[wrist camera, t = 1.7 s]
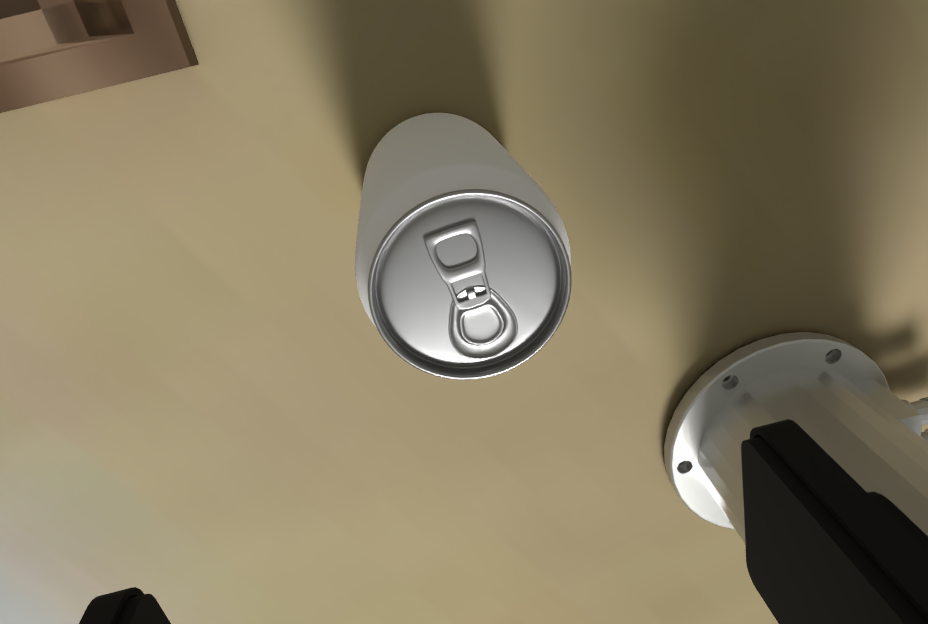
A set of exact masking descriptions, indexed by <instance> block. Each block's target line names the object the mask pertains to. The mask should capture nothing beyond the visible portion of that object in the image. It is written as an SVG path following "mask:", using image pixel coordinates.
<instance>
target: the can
mask: <svg viewBox="0 0 928 624" xmlns="http://www.w3.org/2000/svg"><path fill="white" fill-rule="evenodd" d="M570 265H571V255H570V245H569V240H568V236H567V232H566V229H565V226H564V224H563V222H562V219H561V217H560V215H559V213H558V211H557V210H556V208H555V206H554V205H553V203H552V202H551V200H550V199H549V198H548V196H547V195H546V194H545V193H544V191H543V190H542V189H541V188H540V187H539V186H538V184H537V183H536V182H535V181H534V180H533V179H532V178H531V177H530V175H529V174H528V173H527V172H526V171H525V170H524V169H523V168H522V167H521V166H520V164H519V163H518V162H517V161H516V160H515V159H514V158H513V157H512V156H511V155H510V154H509V153H508V152H507V150H506V149H505V148H504V147H503V146H502V145H501V144H500V143H499V142H498V141H497V140H496V139H495V138H494V137H493V136H492V135H491V134H490V133H489V132H488V131H486V130H485V129H484V128H483V127H481V126H480V125H478V124H477V123H475V122H473V121H471V120H469V119H467V118H464V117H462V116H458V115H454V114H449V113H428V114H422V115H418V116H415V117H412V118H410V119H407V120H405V121H403V122H402V123H400V124H398V125H397V126H395V127H394V128H393V129H391V130H390V131H389V132H388V133H387V134H386V135H385V136H384V137H383V138H382V139H381V140H380V142H379V143H378V144H377V146H376V147H375V149H374V151H373V153H372V155H371V157H370V159H369V161H368V164H367V167H366V171H365V176H364V182H363V189H362V197H361V205H360V213H359V221H358V231H357V240H356V251H355V275H356V282H357V287H358V292H359V295H360V299H361V302H362V304H363V306H364V309H365V311H366V313H367V315H368V316H369V318H370V320H371V321H372V323H373V324H374V325H375V327H376V328H377V329H378V331H379V333H380V335H381V336H382V338H383V339H384V341H385V342H386V343H387V345H388V346H389V347H390V348H391V349H392V350H393V351H394V352H395V353H396V354H397V355H398V356H399V357H400V358H402V359H403V360H404V361H406V362H407V363H409V364H410V365H412V366H414V367H415V368H417V369H419V370H421V371H424V372H426V373H429V374H432V375H435V376H439V377H443V378H448V379H458V380H471V379H481V378H486V377H491V376H495V375H498V374H501V373H504V372H506V371H509V370H511V369H513V368H515V367H517V366H519V365H520V364H522V363H524V362H525V361H527V360H528V359H530V358H531V357H532V356H534V355H535V354H536V353H537V352H538V351H539V350H540V349H541V348H543V346H544V345H545V344H546V343H547V342H548V341H549V340H550V338H551V337H552V336H553V334H554V333H555V332H556V330H557V328H558V327H559V325H560V323H561V321H562V319H563V317H564V315H565V312H566V309H567V306H568V303H569V299H570V293H571V267H570Z"/></svg>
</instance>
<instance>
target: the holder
mask: <svg viewBox="0 0 928 624" xmlns="http://www.w3.org/2000/svg"><path fill="white" fill-rule="evenodd" d="M194 65H198V61H197V58H196V56H195V53H194V50H193V48H192V45H191V42H190V40H189V37H188V34H187V32H186V29H185V26H184V24H183V21H182V18H181V16H180V13H179V10H178V8H177V5H176V2H175V0H0V113H2V112H6V111H10V110H14V109H18V108H23V107H27V106H31V105H35V104H39V103H43V102H47V101H51V100H55V99H59V98H64V97H68V96H72V95H76V94H80V93H84V92H88V91H92V90H96V89H100V88H104V87H109V86H113V85H117V84H121V83H125V82H129V81H133V80H137V79H141V78H145V77H150V76H154V75H158V74H162V73H166V72H170V71H174V70H178V69H182V68H186V67H190V66H194Z"/></svg>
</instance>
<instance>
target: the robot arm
mask: <svg viewBox="0 0 928 624" xmlns="http://www.w3.org/2000/svg"><path fill="white" fill-rule="evenodd" d="M924 424H928V397H925V398H922V399H920V400H919V401H915V402H911V403H909V402H908V401H906V400H902V399H899V398H898V397H897V396H895V395H894V394H892V393H891V392H890V389H889V386H888V383H887V380H886V378H885V376H884V374H883V373H882V371H881V370H880V368H879V367H878V366H877V364H876V363H875V362H874V361H873V360H872V359H870V358H869V357H868V356H867V355H866V354H864V353H863V352H862V351H860V350H859V349H857V348H856V347H854V346H852V345H851V344H849V343H848V342H846V341H844V340H842V339H839V338H836V337H833V336H830V335H827V334H820V333H811V332H797V333H785V334H780V335H776V336H772V337H768V338H764V339H760V340H758V341H756V342H753V343H751V344H749V345H746V346H744V347H741V348H739V349H737V350H736V351H734V352H733V353H731V354H729V355H728V356H726V357H724V358H723V359H721V360H720V361H718V362H717V363H716V364H715V365H713V366H712V367H711V368H710V369H709V370H707V371H706V372H705V373H704V374H703V375H701V376H700V378H699V379H698V380H697V381H696V382H695V383H694V384H693V386H692V387H691V388H690V389H689V390H688V391H687V392H686V394H685V395H684V397H683V398H682V400H681V402H680V403H679V405H678V406H677V408H676V410H675V411H674V414H673V416H672V419H671V421H670V424H669V426H668V429H667V434H666V439H665V445H664V459H665V467H666V471H667V474H668V477H669V480H670V482H671V484H672V485H673V487H674V489H675V491H676V493H677V494H678V496H679V497H680V499H681V500H682V501H683V502H684V504H685V505H686V506H687V507H688V509H689V510H691V511H692V512H693V513H695V514H696V515H697V516H699V517H700V518H701V519H704V520H706V521H708V522H710V523H712V524H715V525H717V526H721V527H725V528H729V529H735V530H736V531H737V533H738V534H739V536H740V537H741V539H742V540H743V541H744V543H745V544H746V562H747V568H748V572H749V575H750V577H751V580H752V582H753V584H754V586H755V587H756V589H757V591H758V592H759V594H760V595H761V597H762V598H763V600H764V601H765V603H766V604H767V606H768V608H769V609H770V611H771V612H772V614H773V615H774V617H775V618H776V620H777V621H778V623H779V624H928V429H926V430H925V431H924V432H921V429H922V425H924ZM79 624H171V623H170V621H169V620H168V618H167V617H166V615H165V613H164V612H163V610H162V609H161V607H160V605H159V604H158V602H157V601H156V599H155V598H154V597H153V595H151V594H144V593H143V592H142V591H141V590H140V589H138V588H136V587H134V588H129V589H125V590H121V591H117V592H113V593H109V594H105V595H102V596H98V597H96V598H94V599H93V600H92V601H91V602H90V604H89V605H88V607H87V609H86V611H85V613H84V615H83V617H82V619H81V621H80V623H79Z"/></svg>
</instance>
